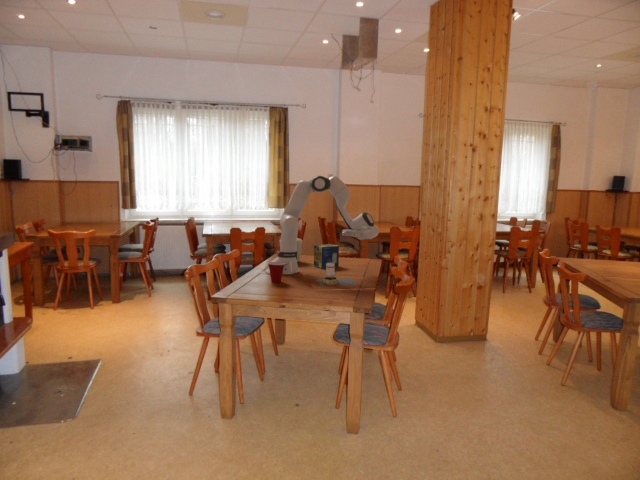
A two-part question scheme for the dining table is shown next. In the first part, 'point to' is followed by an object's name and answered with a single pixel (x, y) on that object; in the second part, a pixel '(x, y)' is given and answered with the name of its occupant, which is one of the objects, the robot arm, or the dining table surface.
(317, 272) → the dining table surface
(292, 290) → the dining table surface
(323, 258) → the protein box
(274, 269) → the plastic cup
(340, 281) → the rubber mat
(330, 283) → the brass collar
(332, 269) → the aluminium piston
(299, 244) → the canister
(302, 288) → the dining table surface
